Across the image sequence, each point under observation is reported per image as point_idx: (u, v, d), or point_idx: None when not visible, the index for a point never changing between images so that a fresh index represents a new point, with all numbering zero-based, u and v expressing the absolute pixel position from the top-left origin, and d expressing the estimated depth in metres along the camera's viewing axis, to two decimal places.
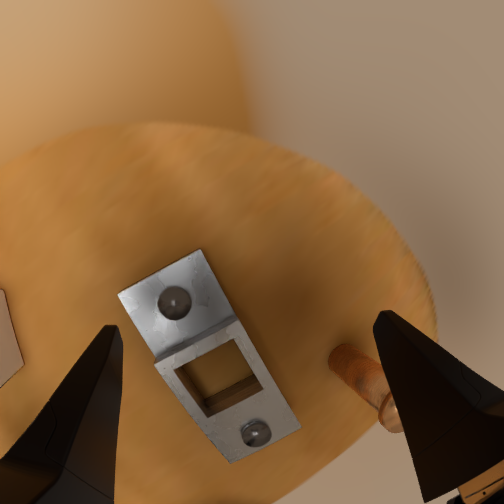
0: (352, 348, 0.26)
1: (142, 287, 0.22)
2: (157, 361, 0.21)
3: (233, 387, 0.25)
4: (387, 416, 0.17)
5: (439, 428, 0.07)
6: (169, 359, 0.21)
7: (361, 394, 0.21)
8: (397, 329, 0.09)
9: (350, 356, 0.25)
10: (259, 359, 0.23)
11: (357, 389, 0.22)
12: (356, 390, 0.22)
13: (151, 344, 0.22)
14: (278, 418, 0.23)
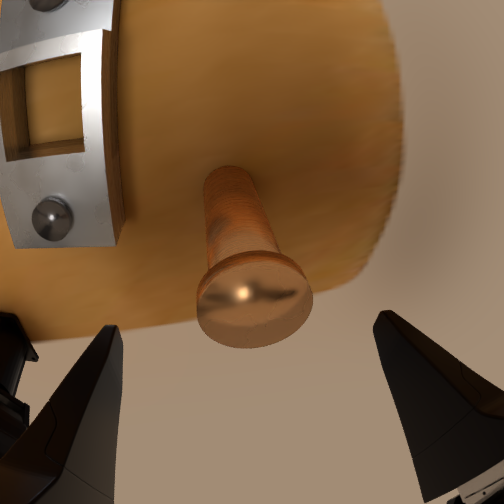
0: (246, 178, 0.17)
1: None
2: None
3: (65, 141, 0.15)
4: (208, 297, 0.10)
5: (439, 428, 0.07)
6: (0, 56, 0.09)
7: (207, 240, 0.14)
8: (397, 329, 0.09)
9: (235, 182, 0.16)
10: (98, 100, 0.12)
11: (207, 230, 0.14)
12: (206, 231, 0.14)
13: (2, 39, 0.10)
14: (88, 212, 0.15)
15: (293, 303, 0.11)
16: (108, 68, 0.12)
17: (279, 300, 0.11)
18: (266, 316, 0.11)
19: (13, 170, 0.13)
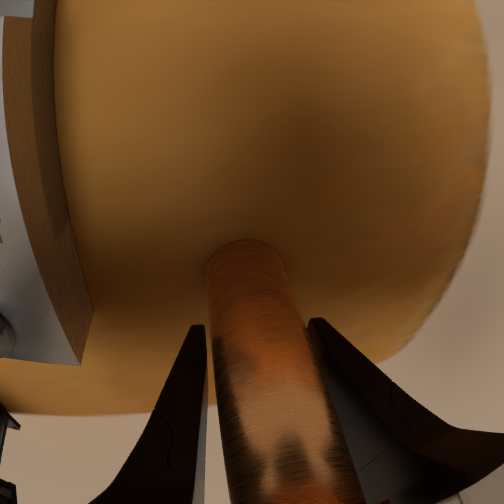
0: (275, 266, 0.11)
1: None
2: None
3: None
4: None
5: (366, 455, 0.07)
6: None
7: (219, 414, 0.07)
8: (322, 340, 0.09)
9: (260, 284, 0.10)
10: (5, 154, 0.06)
11: (219, 391, 0.08)
12: (216, 388, 0.08)
13: None
14: (31, 325, 0.09)
15: None
16: (27, 87, 0.06)
17: None
18: None
19: None
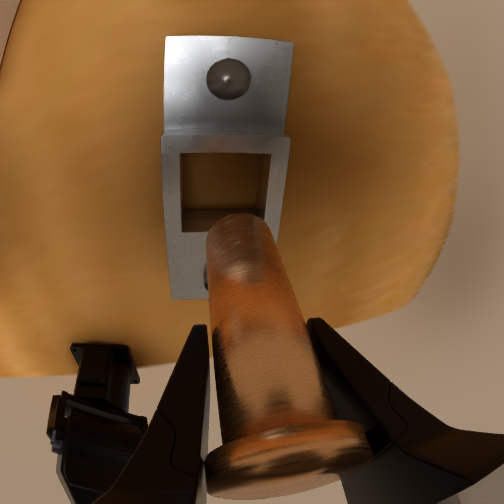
0: (266, 234, 0.13)
1: (201, 42, 0.14)
2: (166, 134, 0.16)
3: (224, 211, 0.22)
4: (224, 483, 0.05)
5: None
6: (184, 138, 0.16)
7: (214, 352, 0.09)
8: (320, 340, 0.09)
9: (251, 247, 0.11)
10: (281, 194, 0.18)
11: (214, 333, 0.09)
12: (212, 332, 0.10)
13: (168, 112, 0.16)
14: None
15: (345, 468, 0.06)
16: None
17: (327, 471, 0.06)
18: (305, 481, 0.06)
19: (188, 239, 0.19)
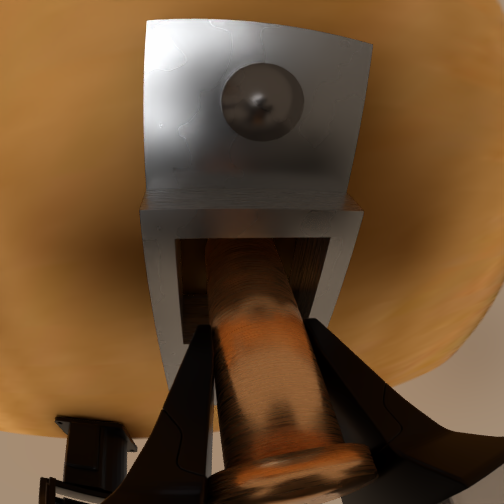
0: (267, 243, 0.12)
1: (213, 32, 0.07)
2: (150, 205, 0.09)
3: None
4: None
5: None
6: (181, 214, 0.09)
7: (214, 368, 0.08)
8: (315, 341, 0.09)
9: (252, 257, 0.11)
10: (336, 292, 0.12)
11: (214, 348, 0.09)
12: None
13: (153, 159, 0.09)
14: None
15: (350, 487, 0.06)
16: None
17: (331, 491, 0.05)
18: (308, 500, 0.06)
19: None
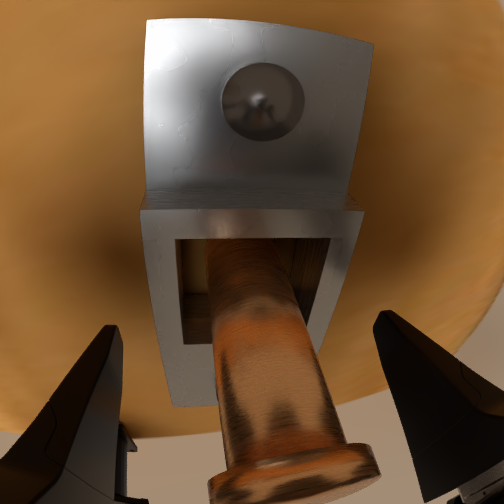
0: (268, 243, 0.12)
1: (213, 31, 0.07)
2: (150, 205, 0.09)
3: None
4: None
5: (439, 428, 0.07)
6: (181, 214, 0.09)
7: (216, 369, 0.08)
8: (397, 329, 0.09)
9: (253, 257, 0.11)
10: (337, 293, 0.12)
11: (215, 348, 0.09)
12: (213, 347, 0.09)
13: (153, 159, 0.09)
14: None
15: (352, 487, 0.06)
16: None
17: (334, 492, 0.05)
18: (311, 501, 0.06)
19: (194, 352, 0.13)
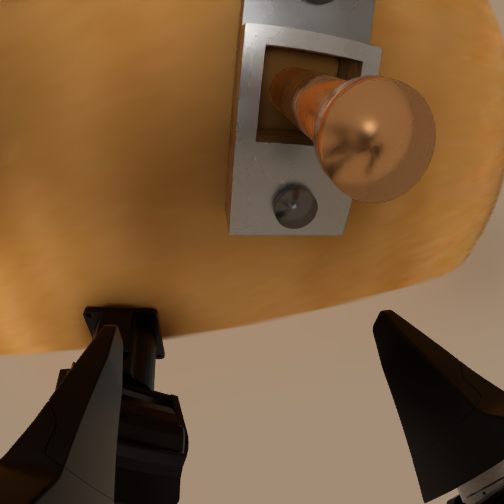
0: None
1: None
2: None
3: (295, 132, 0.18)
4: (340, 111, 0.08)
5: (439, 429, 0.07)
6: (272, 28, 0.12)
7: (300, 102, 0.11)
8: (397, 329, 0.09)
9: (312, 71, 0.14)
10: None
11: (298, 96, 0.12)
12: (295, 100, 0.12)
13: (249, 8, 0.12)
14: (331, 203, 0.18)
15: (419, 140, 0.08)
16: None
17: (407, 132, 0.08)
18: (393, 152, 0.09)
19: (262, 152, 0.15)
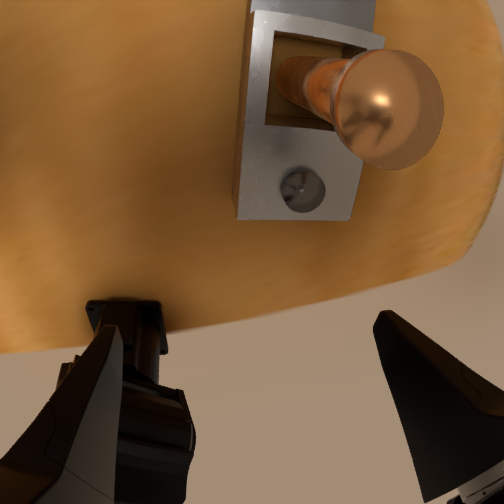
0: None
1: None
2: None
3: (301, 119, 0.18)
4: (356, 78, 0.08)
5: (439, 428, 0.07)
6: (280, 15, 0.12)
7: (311, 81, 0.11)
8: (397, 329, 0.09)
9: None
10: None
11: (308, 76, 0.12)
12: (305, 81, 0.12)
13: None
14: (338, 188, 0.18)
15: (429, 109, 0.08)
16: None
17: (418, 101, 0.08)
18: (405, 120, 0.08)
19: (271, 135, 0.15)
